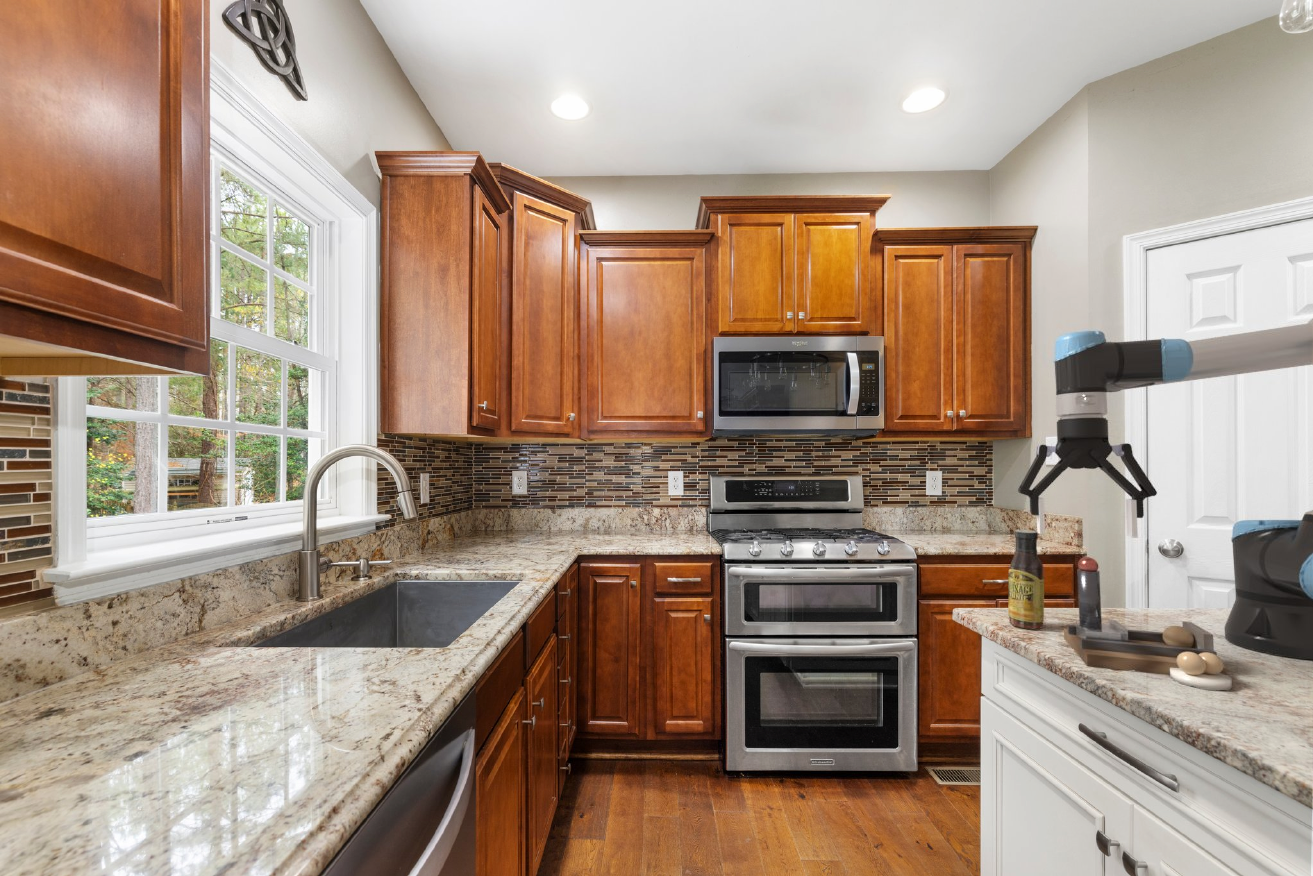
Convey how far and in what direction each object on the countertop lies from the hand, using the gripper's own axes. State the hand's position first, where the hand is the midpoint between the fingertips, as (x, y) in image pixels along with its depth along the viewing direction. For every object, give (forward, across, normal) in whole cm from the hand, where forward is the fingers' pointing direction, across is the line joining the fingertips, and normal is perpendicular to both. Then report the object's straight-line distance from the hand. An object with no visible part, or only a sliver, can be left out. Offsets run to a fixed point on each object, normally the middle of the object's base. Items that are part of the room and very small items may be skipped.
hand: (1085, 535), depth 105 cm
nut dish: (+21, +12, -10) cm, 26 cm away
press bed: (+21, +7, 0) cm, 22 cm away
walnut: (+19, +13, 0) cm, 23 cm away
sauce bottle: (+21, -7, +15) cm, 27 cm away
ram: (+19, +2, 0) cm, 19 cm away
